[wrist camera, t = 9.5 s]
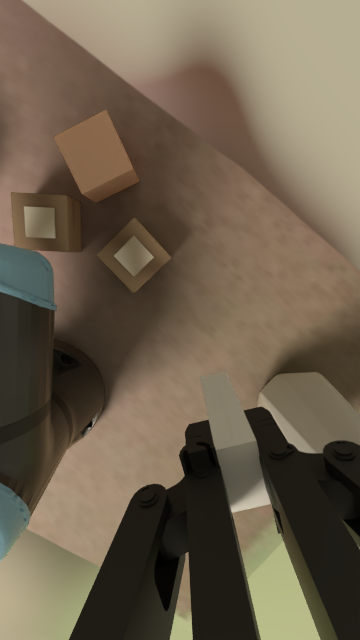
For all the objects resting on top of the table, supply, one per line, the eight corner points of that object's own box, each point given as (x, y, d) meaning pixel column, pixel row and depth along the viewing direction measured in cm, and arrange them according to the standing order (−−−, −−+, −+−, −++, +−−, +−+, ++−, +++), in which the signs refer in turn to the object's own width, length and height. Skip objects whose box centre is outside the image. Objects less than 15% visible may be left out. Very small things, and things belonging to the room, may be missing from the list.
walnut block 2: (138, 288, 40) (133, 293, 35) (105, 254, 39) (95, 255, 34) (171, 257, 40) (171, 257, 35) (139, 221, 39) (133, 217, 34)
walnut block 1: (34, 249, 39) (13, 249, 34) (31, 200, 38) (9, 191, 33) (81, 252, 39) (68, 251, 34) (80, 202, 38) (66, 194, 33)
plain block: (96, 203, 38) (81, 194, 32) (72, 155, 37) (53, 136, 31) (139, 181, 38) (133, 168, 32) (117, 132, 36) (106, 109, 31)
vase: (257, 448, 46) (453, 911, 14) (234, 379, 43) (405, 745, 11) (336, 422, 45) (740, 846, 13) (317, 351, 43) (755, 655, 10)
